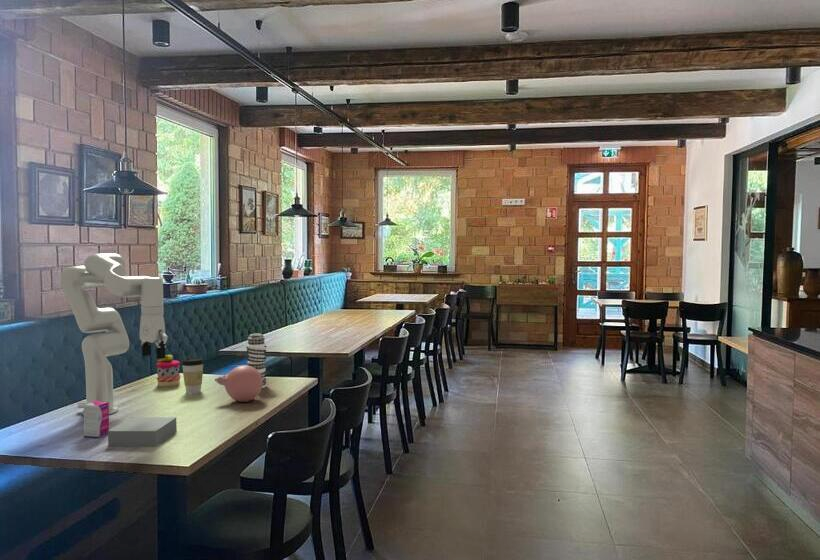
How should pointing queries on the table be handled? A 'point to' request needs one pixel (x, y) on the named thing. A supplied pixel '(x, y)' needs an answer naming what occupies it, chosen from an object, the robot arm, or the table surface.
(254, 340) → the striped thermos bottle
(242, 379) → the balloon
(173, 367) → the cake
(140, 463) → the table surface
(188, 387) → the coffee cup
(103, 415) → the supplement box
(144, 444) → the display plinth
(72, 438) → the table surface
